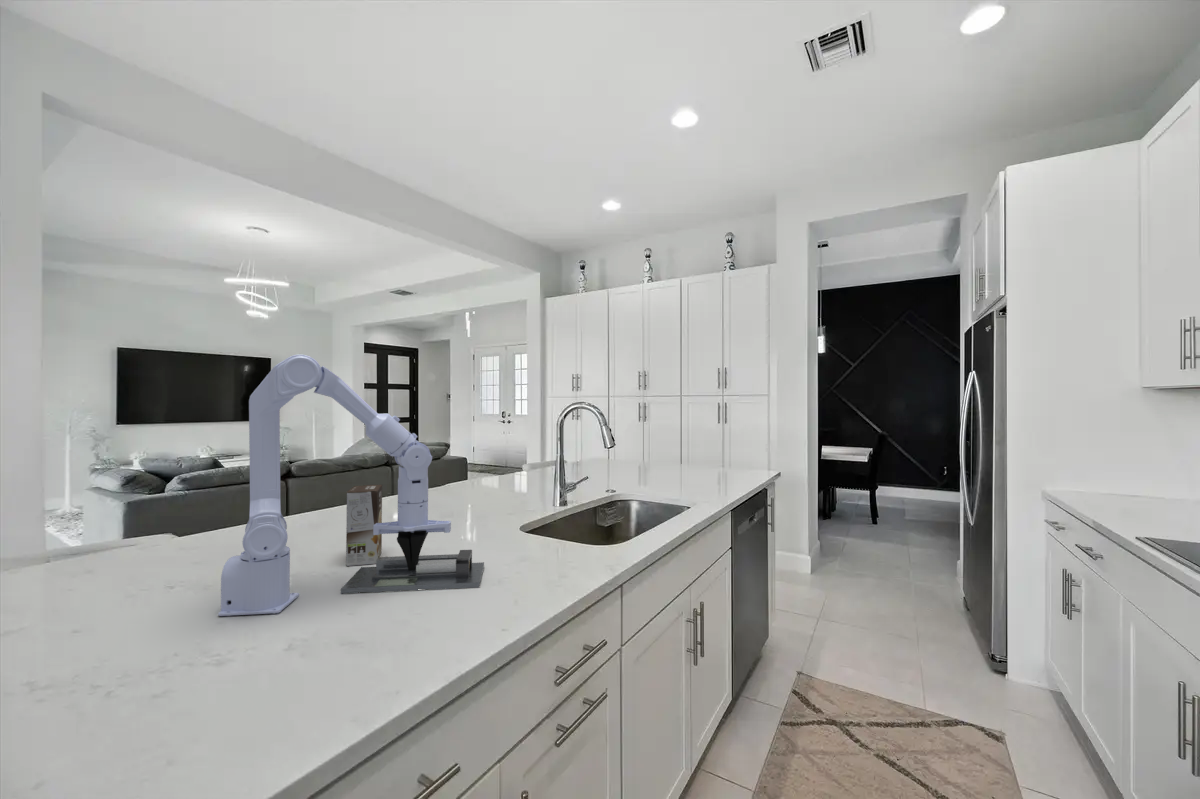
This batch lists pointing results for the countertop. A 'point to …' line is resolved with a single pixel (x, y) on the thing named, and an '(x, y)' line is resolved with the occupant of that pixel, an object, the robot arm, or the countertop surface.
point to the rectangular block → (436, 567)
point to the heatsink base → (397, 577)
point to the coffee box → (363, 524)
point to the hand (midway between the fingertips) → (412, 569)
